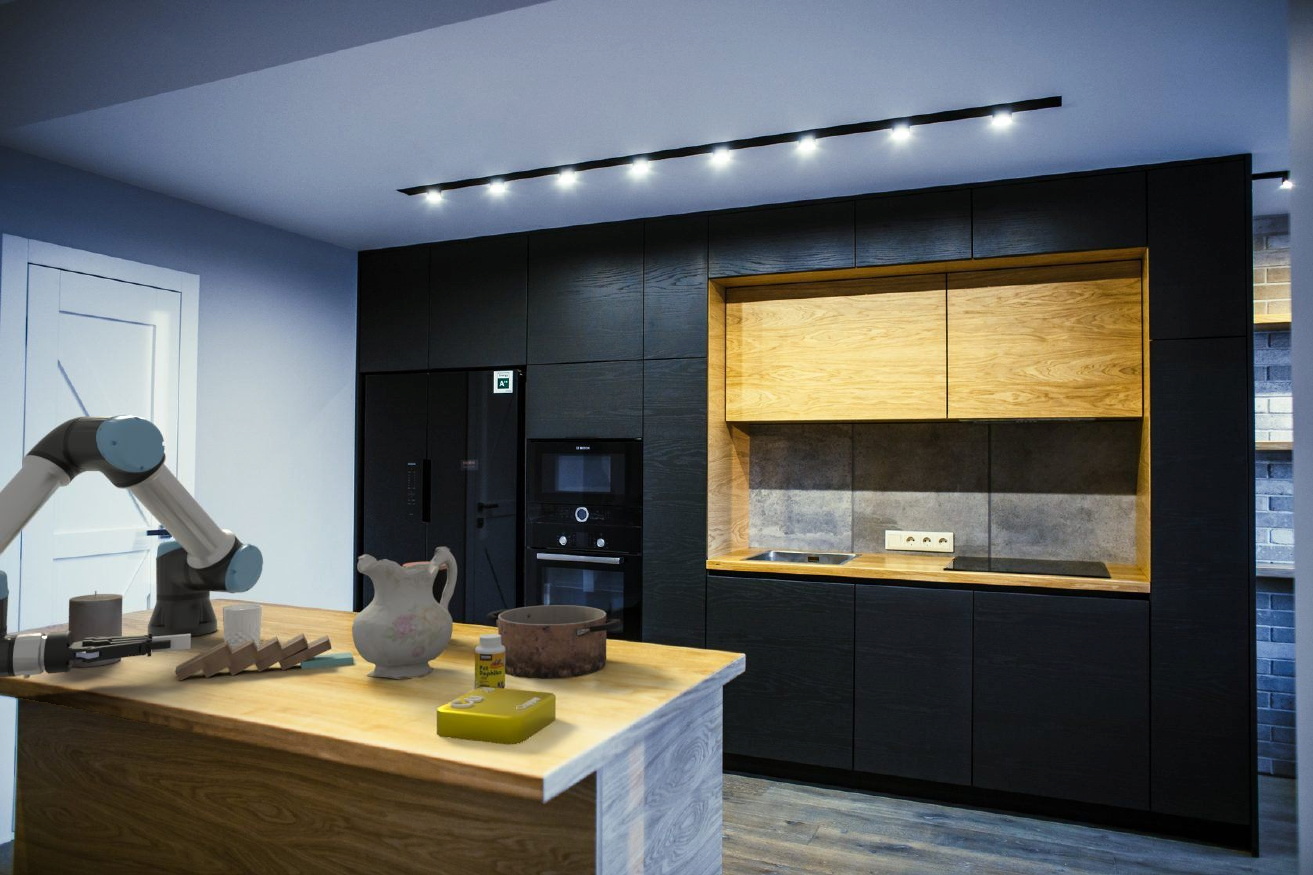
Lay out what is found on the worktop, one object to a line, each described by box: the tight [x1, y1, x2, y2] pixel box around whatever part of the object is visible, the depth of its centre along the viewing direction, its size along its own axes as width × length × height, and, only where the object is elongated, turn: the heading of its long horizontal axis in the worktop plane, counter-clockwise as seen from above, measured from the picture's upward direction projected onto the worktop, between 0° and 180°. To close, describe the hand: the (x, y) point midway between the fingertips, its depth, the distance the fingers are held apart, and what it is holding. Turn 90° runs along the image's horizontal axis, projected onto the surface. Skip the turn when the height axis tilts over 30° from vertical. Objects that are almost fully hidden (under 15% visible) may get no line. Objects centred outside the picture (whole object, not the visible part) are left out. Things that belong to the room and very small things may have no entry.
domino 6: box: [299, 652, 354, 670], centre depth 181 cm, size 5×2×10 cm
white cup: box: [222, 603, 263, 648], centre depth 193 cm, size 8×8×10 cm
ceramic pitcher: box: [351, 545, 458, 680], centre depth 176 cm, size 22×20×25 cm
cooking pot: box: [486, 604, 622, 680], centre depth 180 cm, size 30×22×11 cm
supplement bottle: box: [474, 633, 506, 690], centre depth 160 cm, size 6×6×10 cm
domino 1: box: [174, 640, 232, 682], centre depth 172 cm, size 5×2×10 cm
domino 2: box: [201, 638, 257, 679], centre depth 174 cm, size 5×2×10 cm
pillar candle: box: [67, 590, 124, 668], centre depth 183 cm, size 10×10×15 cm
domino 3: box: [227, 636, 282, 676], centre depth 176 cm, size 5×2×10 cm
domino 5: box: [278, 634, 332, 671], centre depth 179 cm, size 5×2×10 cm
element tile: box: [436, 687, 557, 745], centre depth 139 cm, size 15×15×5 cm
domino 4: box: [254, 632, 309, 673], centre depth 178 cm, size 5×2×10 cm
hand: (190, 641), depth 171 cm, fingers closed
